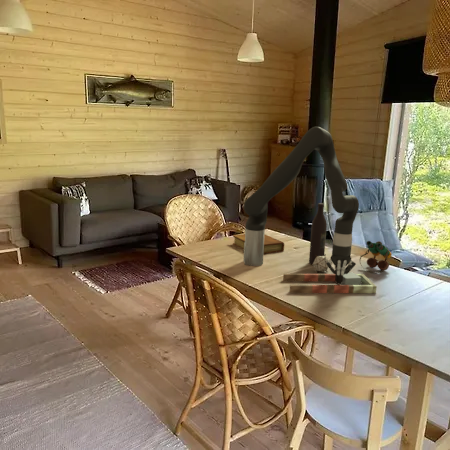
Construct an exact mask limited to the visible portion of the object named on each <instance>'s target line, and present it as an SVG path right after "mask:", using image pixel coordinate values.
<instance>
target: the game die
mask: <svg viewBox="0 0 450 450" xmlns="http://www.w3.org/2000/svg"><path fill="white" fill-rule="evenodd" d="M328 260H329V258H327V256H326V254H325V253H324V256H317V255H316V258H315V260H314V262H313V264H310V266H313V267H314V268H315V270H316V271H317V273H316V274H319V272H326V273H328V269H329V267H328V266H327V265H326V263H325V261H328Z"/></svg>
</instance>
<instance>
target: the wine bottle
mask: <svg viewBox="0 0 450 450" xmlns="http://www.w3.org/2000/svg"><path fill="white" fill-rule="evenodd" d="M324 208H325V204H324V203H323V202H318V203H317V211H316V214H315V215H314V217H313V220H312V223H311V229H310V232H311V233H310V243H309V244H310V245H309V258H308V263H309V264H310V265H311V264H313V262H314V260H315V258H316V255H317V256H324V255H325V251H326V250H325V249H326V238H327V225H328V224H327V220H326V217H325V214H324Z"/></svg>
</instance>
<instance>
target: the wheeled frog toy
mask: <svg viewBox="0 0 450 450" xmlns="http://www.w3.org/2000/svg"><path fill="white" fill-rule="evenodd" d="M366 246H367V248H368V249H367V250H366V251H365V253H364V254H362V255H360V257H359V264H360V266H361V267H363V266H362V262H361V261H362V260H361V259H362V257H364V256H367V255H368V254H369V252H370V253H371V254H372V255H373V257H368V259H366V265H367V266H368V267H370V268H371V269H373V268H378V269H379V270H381V271H370V270H367V269H366V268H364V271H367V272H369V273H373V274H379V273H383V272H384V271H387V270H388V269H389V267H390V262H389V259H390V258H392V255H393V254H392V252H391V251H390V250H389V249H388V247H386V246H385V245H384V244H383V243H382V242H381V241H380V240H379V241H376V242H372V240H367V241H366ZM379 255H381V256H382V257H383V258H384V260H383V259H381V260H379V261H378V260H377V259H376V257H378V256H379Z"/></svg>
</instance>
